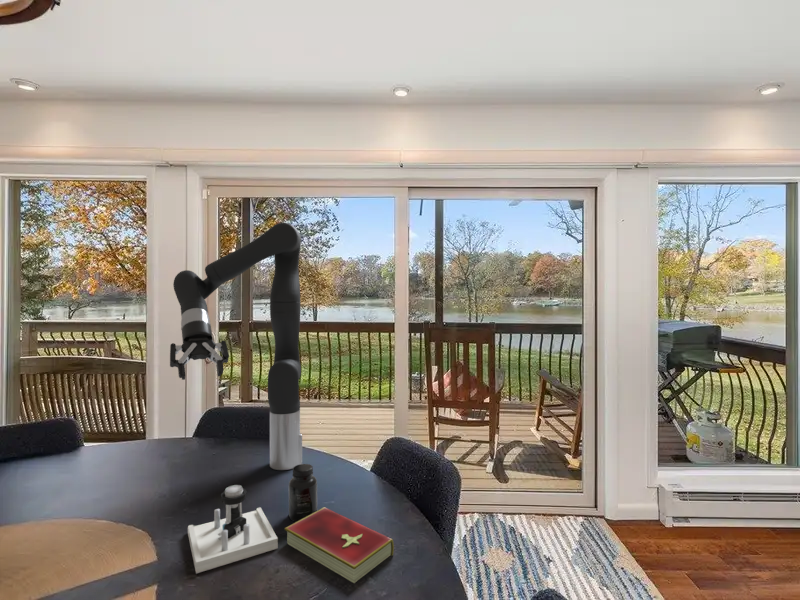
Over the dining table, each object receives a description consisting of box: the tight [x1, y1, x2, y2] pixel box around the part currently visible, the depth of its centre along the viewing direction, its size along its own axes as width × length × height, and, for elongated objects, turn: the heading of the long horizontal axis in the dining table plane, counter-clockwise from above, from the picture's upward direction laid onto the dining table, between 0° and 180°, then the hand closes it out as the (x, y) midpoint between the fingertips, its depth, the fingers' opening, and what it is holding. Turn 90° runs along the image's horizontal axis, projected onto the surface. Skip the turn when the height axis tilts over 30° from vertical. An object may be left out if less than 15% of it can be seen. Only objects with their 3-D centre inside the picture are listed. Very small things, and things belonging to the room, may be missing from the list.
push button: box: [218, 484, 248, 540], centre depth 96 cm, size 7×5×10 cm
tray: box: [187, 506, 279, 574], centre depth 96 cm, size 16×16×5 cm
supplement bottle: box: [288, 463, 318, 523], centre depth 106 cm, size 7×7×12 cm
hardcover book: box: [284, 506, 395, 584], centre depth 93 cm, size 12×21×4 cm, turn 52°
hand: (202, 376), depth 113 cm, fingers open, 8 cm apart
